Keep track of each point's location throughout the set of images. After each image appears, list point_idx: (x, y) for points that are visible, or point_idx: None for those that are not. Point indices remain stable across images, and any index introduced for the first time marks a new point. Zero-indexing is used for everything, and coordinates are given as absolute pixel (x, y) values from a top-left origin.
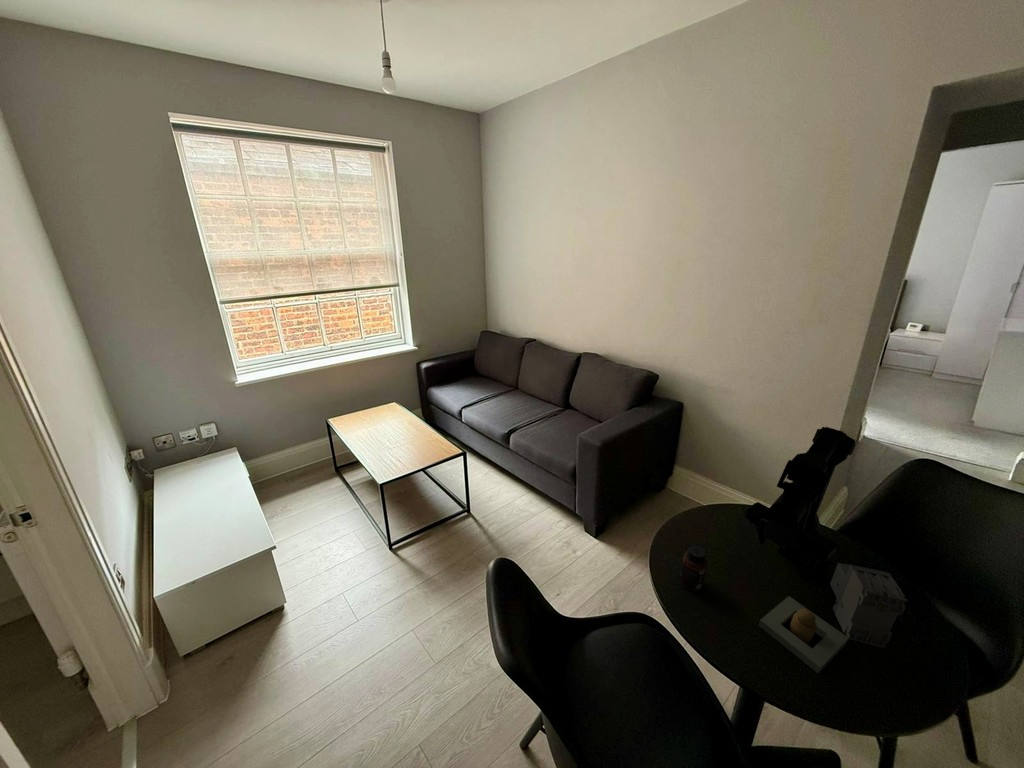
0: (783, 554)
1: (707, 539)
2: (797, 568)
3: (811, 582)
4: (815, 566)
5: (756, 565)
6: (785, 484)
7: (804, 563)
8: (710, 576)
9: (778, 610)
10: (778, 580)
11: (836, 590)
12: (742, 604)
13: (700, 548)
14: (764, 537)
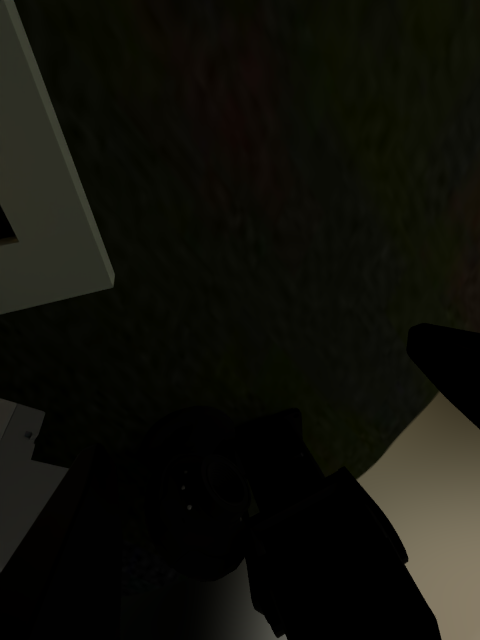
0: (280, 417)
1: (453, 223)
2: (222, 419)
3: (163, 422)
4: (182, 485)
5: (292, 303)
6: None
7: (13, 556)
8: (357, 20)
9: (32, 141)
10: (211, 326)
11: (47, 486)
12: (159, 9)
13: None
14: (477, 388)
